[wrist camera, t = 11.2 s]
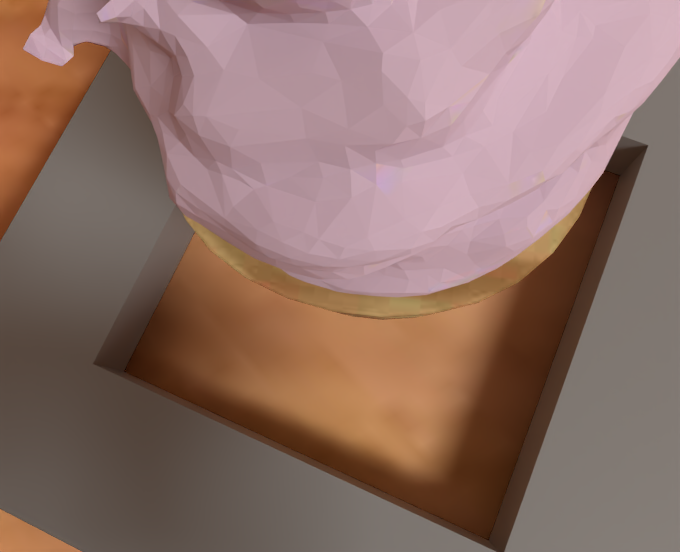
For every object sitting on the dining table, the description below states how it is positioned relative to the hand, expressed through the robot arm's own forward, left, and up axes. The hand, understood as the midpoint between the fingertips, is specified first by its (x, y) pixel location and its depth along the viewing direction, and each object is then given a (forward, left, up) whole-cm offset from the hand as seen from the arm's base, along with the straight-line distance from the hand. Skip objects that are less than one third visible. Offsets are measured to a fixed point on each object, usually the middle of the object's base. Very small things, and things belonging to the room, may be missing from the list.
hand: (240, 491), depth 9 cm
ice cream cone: (+6, +1, -8) cm, 10 cm away
